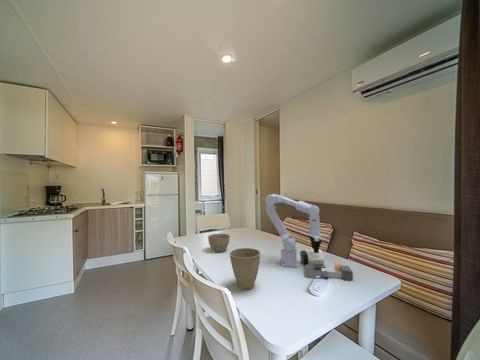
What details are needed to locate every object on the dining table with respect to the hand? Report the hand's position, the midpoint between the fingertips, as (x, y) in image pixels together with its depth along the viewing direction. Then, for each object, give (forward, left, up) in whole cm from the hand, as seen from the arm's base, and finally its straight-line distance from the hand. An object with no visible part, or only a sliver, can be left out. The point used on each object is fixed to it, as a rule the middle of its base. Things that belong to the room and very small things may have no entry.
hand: (315, 250), depth 119 cm
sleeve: (-1, -10, -10) cm, 14 cm away
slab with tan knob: (+8, -10, -10) cm, 16 cm away
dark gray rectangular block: (+14, -10, -10) cm, 20 cm away
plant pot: (-36, -27, -10) cm, 46 cm away
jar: (+5, +8, -6) cm, 11 cm away
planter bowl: (-65, +22, -10) cm, 69 cm away
